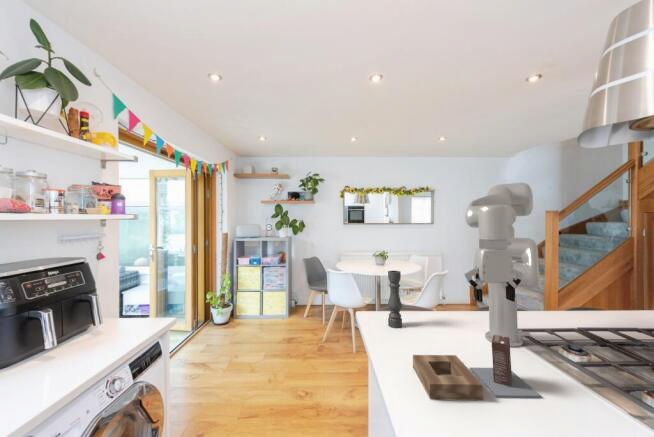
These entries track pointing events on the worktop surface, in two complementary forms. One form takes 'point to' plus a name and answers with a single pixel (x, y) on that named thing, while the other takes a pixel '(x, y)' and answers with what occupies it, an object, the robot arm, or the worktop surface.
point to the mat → (501, 391)
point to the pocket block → (447, 378)
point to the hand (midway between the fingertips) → (494, 300)
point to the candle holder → (394, 300)
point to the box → (501, 360)
